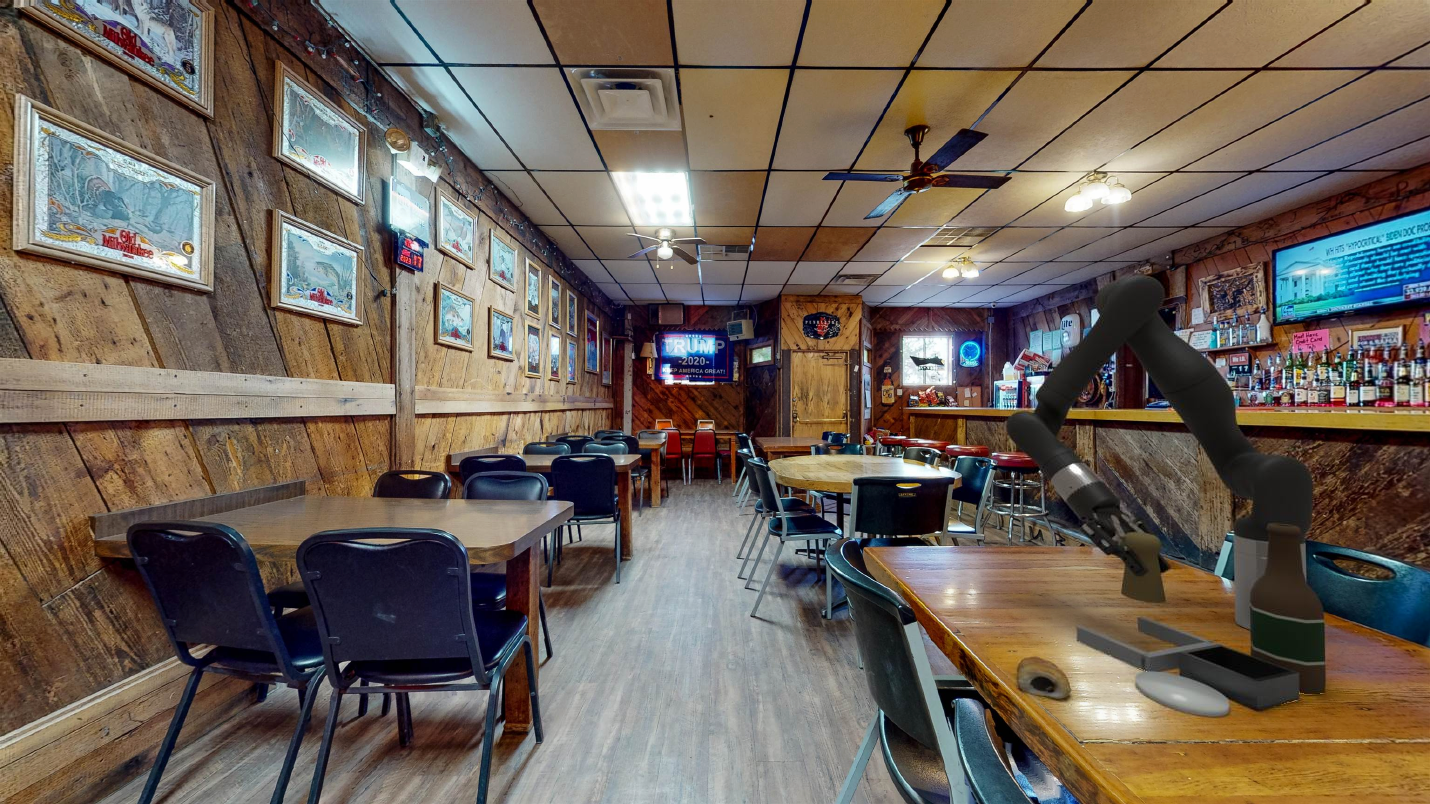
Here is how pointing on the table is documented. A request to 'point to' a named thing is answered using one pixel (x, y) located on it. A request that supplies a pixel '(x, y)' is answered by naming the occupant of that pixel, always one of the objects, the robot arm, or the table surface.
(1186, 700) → the saucer
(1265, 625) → the beer bottle
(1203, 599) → the table surface
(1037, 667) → the pastry
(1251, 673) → the open storage bin
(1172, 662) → the grey u-shaped frame
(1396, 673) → the table surface
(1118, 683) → the table surface
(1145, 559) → the cork
